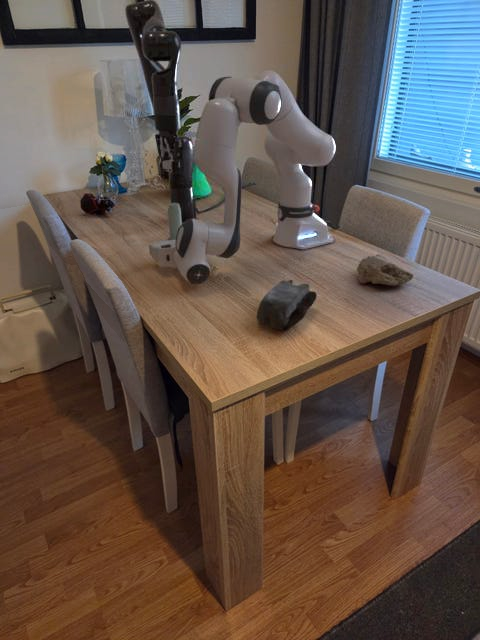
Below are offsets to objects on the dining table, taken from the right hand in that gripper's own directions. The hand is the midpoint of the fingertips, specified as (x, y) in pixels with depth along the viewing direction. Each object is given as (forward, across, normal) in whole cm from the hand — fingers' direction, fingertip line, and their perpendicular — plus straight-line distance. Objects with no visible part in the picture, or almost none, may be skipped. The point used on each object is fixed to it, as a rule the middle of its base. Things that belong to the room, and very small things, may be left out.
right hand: (175, 238), depth 151 cm
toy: (+54, +22, +6) cm, 59 cm away
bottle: (-1, 0, +6) cm, 6 cm away
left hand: (-1, 0, -23) cm, 23 cm away
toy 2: (+69, -23, +6) cm, 73 cm away
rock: (-51, -19, +6) cm, 54 cm away
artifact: (-39, -56, +6) cm, 68 cm away
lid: (-1, 0, -25) cm, 25 cm away
